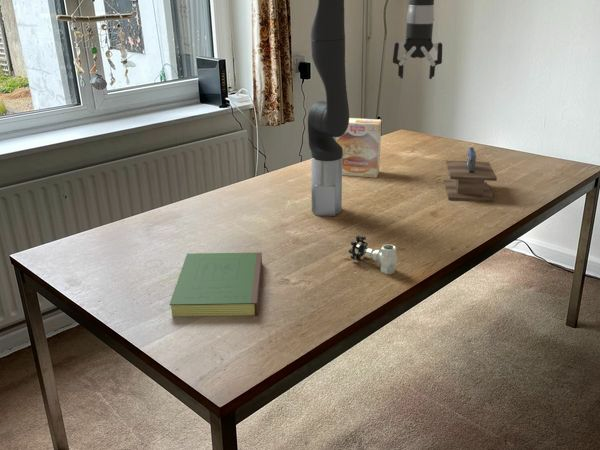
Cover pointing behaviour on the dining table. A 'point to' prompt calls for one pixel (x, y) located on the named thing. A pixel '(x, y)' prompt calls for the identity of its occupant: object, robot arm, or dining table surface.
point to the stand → (469, 181)
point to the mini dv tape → (471, 160)
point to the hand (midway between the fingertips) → (415, 78)
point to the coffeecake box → (361, 147)
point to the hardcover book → (218, 285)
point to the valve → (376, 254)
